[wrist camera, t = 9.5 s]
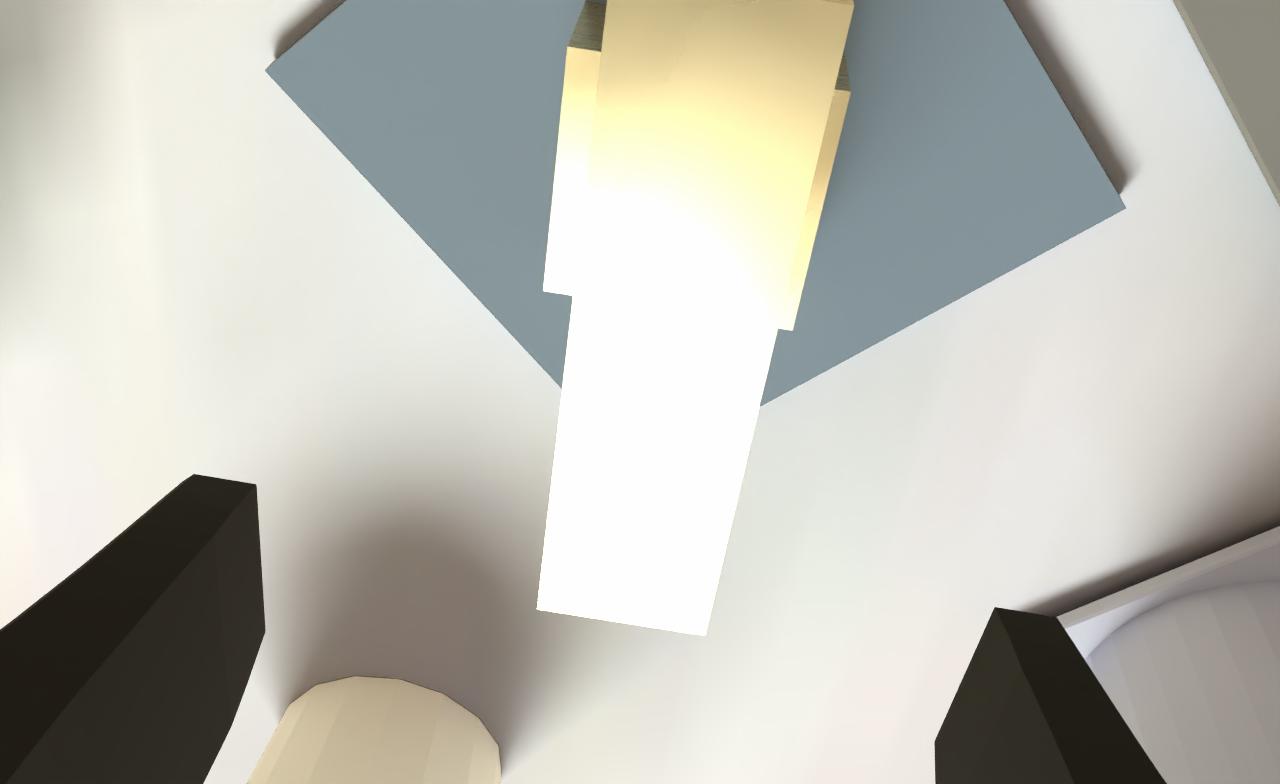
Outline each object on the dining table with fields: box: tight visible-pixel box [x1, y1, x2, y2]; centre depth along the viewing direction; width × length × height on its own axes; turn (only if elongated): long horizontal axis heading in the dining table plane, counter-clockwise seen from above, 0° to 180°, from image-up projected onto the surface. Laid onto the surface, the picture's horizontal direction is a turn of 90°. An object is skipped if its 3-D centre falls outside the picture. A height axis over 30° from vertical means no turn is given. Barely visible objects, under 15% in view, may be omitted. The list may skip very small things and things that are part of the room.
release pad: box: [265, 0, 1126, 407], centre depth 20 cm, size 10×10×1 cm
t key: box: [537, 0, 854, 636], centre depth 17 cm, size 9×4×6 cm, turn 173°
